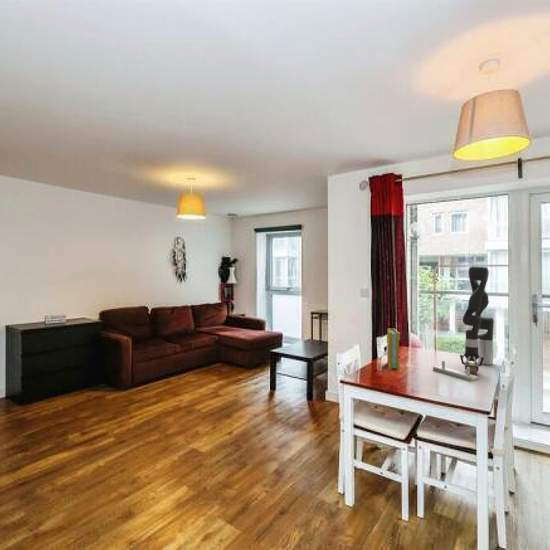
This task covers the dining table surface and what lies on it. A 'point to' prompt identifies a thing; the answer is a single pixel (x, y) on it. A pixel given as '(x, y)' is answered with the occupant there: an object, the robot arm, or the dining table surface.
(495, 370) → the dining table surface
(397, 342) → the book
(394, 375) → the dining table surface
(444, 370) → the board
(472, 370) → the frame
